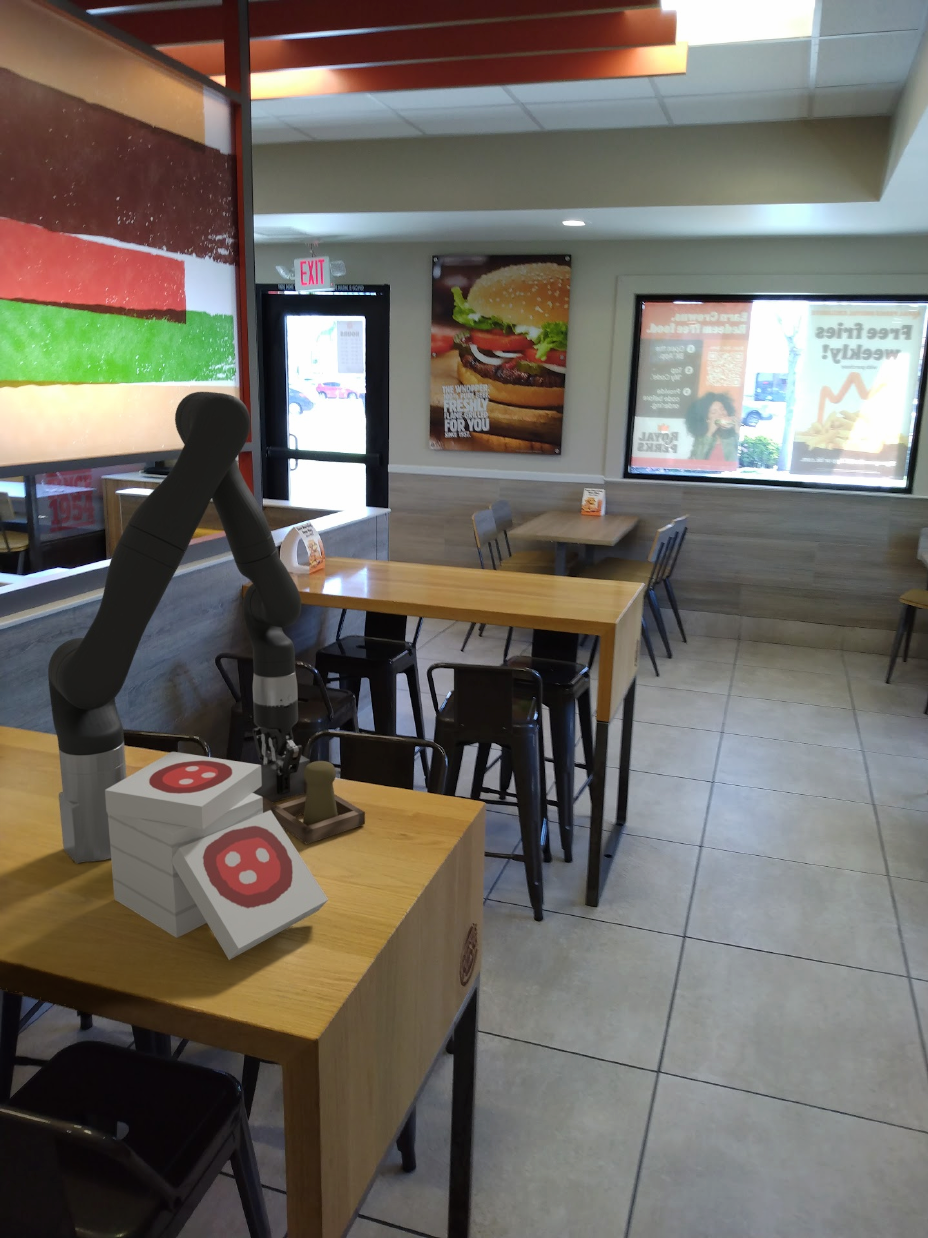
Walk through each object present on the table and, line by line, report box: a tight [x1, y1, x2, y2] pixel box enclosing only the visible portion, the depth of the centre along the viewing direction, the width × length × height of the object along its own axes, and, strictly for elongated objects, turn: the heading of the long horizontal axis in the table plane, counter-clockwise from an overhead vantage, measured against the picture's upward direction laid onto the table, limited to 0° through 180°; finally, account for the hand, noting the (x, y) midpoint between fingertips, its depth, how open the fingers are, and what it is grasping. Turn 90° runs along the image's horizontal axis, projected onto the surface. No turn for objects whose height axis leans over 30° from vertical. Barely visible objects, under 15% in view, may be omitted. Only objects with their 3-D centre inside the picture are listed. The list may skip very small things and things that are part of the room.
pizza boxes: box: [105, 751, 329, 961], centre depth 126 cm, size 19×30×18 cm, turn 51°
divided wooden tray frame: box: [253, 754, 366, 845], centre depth 156 cm, size 11×20×6 cm, turn 41°
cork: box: [302, 760, 339, 826], centre depth 152 cm, size 6×6×11 cm
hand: (278, 789), depth 163 cm, fingers closed on divided wooden tray frame, 3 cm apart
